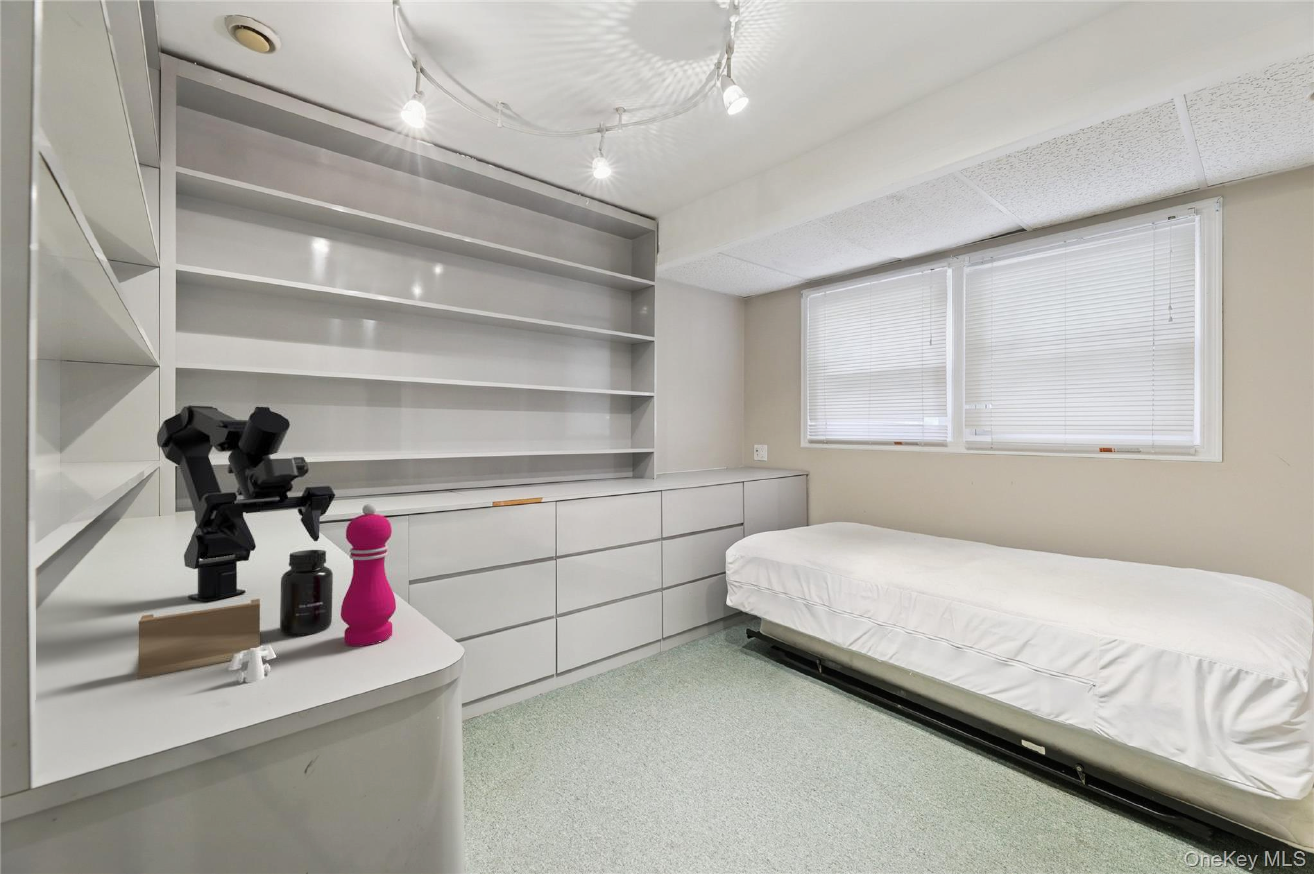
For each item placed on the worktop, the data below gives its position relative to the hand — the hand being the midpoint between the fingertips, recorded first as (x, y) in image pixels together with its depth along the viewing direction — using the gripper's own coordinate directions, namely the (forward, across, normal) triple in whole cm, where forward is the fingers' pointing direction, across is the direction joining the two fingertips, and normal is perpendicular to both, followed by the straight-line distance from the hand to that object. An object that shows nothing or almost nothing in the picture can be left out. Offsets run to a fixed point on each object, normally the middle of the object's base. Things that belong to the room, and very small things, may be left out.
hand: (286, 544), depth 87 cm
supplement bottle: (+14, 0, +4) cm, 14 cm away
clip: (+23, -12, -5) cm, 27 cm away
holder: (+12, -12, +6) cm, 18 cm away
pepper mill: (+22, +3, -4) cm, 23 cm away
